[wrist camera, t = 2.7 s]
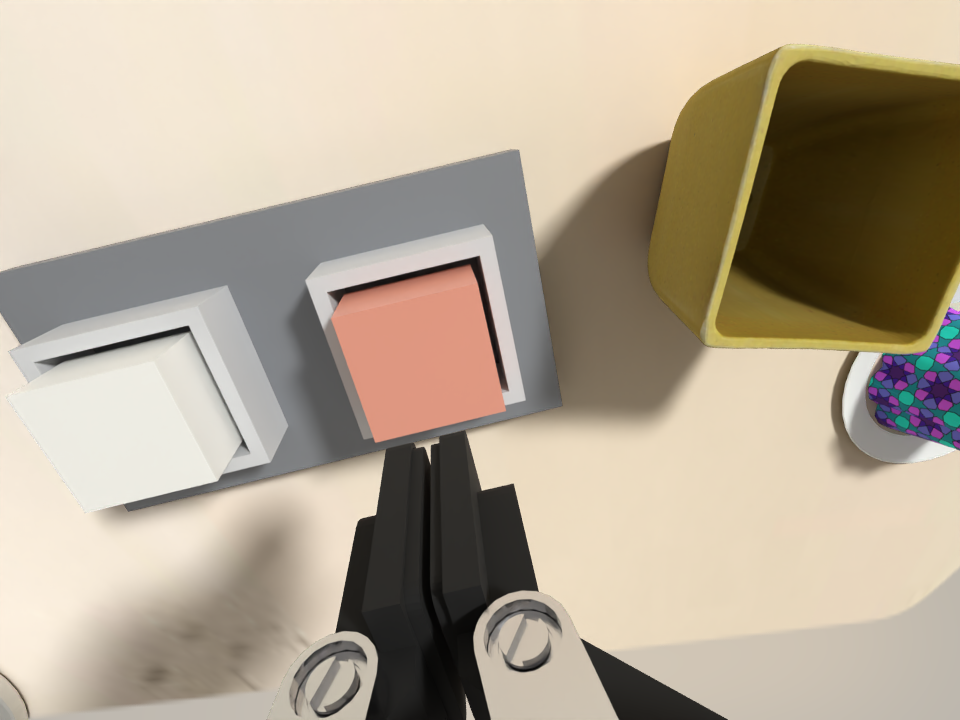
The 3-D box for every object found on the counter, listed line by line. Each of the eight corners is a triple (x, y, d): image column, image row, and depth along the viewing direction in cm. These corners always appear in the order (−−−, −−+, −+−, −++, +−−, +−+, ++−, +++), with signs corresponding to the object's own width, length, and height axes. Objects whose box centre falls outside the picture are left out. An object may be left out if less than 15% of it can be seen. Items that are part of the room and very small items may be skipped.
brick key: (495, 377, 21) (506, 411, 19) (381, 404, 21) (375, 442, 19) (469, 263, 19) (477, 283, 17) (343, 293, 19) (330, 318, 17)
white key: (244, 438, 21) (217, 480, 19) (129, 465, 21) (85, 513, 19) (191, 330, 19) (153, 360, 17) (64, 361, 19) (4, 396, 17)
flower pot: (828, 100, 23) (1062, 74, 14) (770, 290, 26) (932, 357, 18) (642, 80, 21) (779, 39, 13) (606, 281, 25) (697, 348, 17)
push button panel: (553, 388, 27) (579, 438, 22) (148, 486, 27) (91, 557, 22) (510, 149, 22) (534, 150, 17) (16, 267, 22) (-93, 299, 17)
